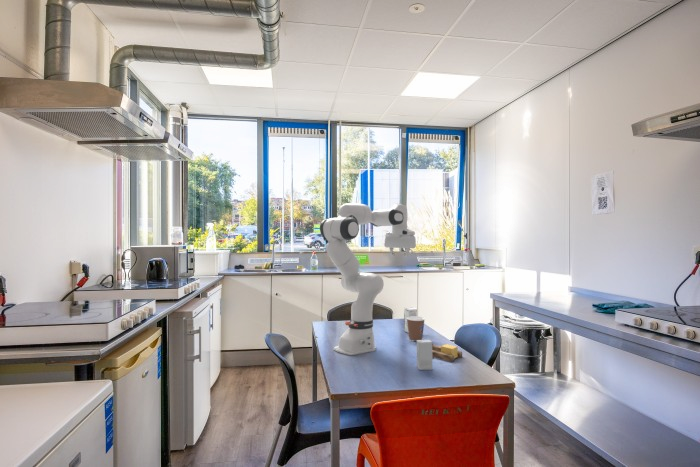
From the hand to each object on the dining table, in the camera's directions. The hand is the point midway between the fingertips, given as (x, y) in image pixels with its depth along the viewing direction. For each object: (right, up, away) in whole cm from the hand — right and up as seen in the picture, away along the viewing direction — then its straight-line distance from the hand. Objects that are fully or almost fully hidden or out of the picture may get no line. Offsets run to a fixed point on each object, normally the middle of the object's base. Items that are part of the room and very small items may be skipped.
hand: (399, 255), depth 213 cm
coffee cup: (+8, -47, -6) cm, 48 cm away
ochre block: (+19, -46, -37) cm, 62 cm away
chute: (+16, -46, -34) cm, 60 cm away
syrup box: (+8, -47, +11) cm, 49 cm away
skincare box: (+4, -46, -52) cm, 70 cm away
